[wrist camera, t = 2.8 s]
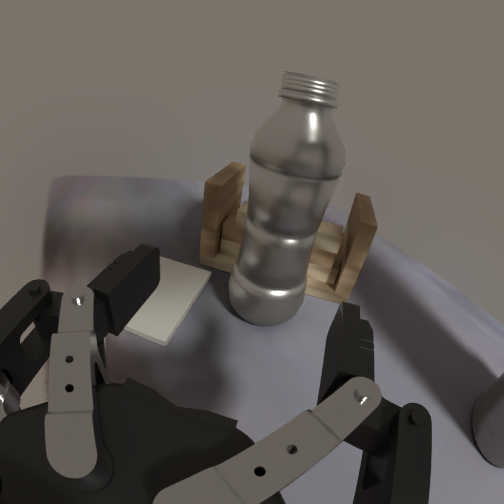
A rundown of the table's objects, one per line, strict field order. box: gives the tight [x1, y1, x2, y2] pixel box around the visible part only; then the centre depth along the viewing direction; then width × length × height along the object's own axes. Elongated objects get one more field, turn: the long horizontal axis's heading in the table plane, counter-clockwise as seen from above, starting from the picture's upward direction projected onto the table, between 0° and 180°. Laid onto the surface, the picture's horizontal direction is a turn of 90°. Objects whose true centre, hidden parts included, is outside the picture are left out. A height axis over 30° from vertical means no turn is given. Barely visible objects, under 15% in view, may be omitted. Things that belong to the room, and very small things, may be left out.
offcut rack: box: [199, 162, 378, 304], centre depth 32 cm, size 16×8×9 cm, turn 75°
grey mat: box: [124, 256, 212, 347], centre depth 27 cm, size 9×10×1 cm
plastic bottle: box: [228, 71, 345, 326], centre depth 22 cm, size 6×7×20 cm
